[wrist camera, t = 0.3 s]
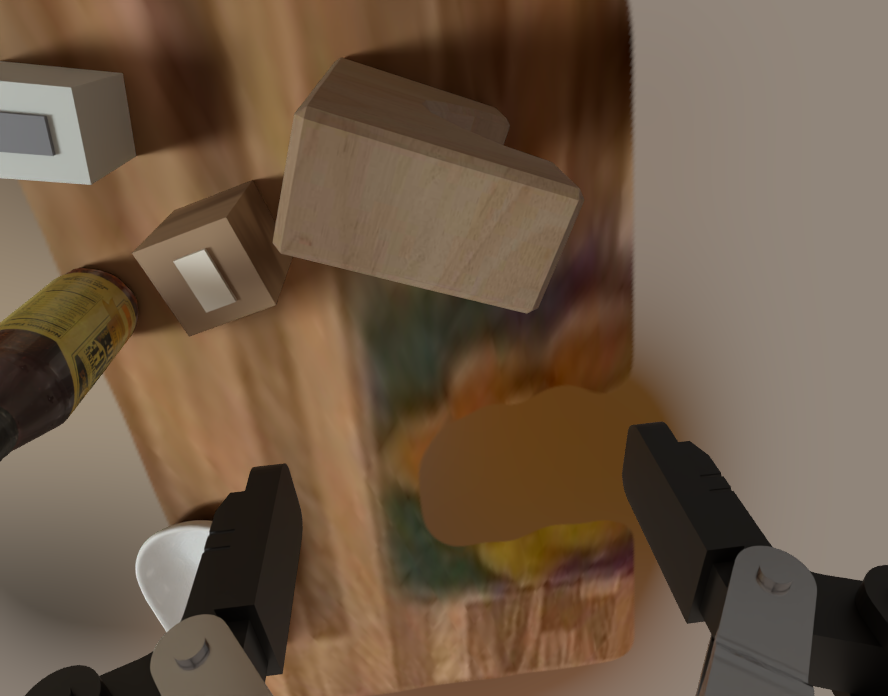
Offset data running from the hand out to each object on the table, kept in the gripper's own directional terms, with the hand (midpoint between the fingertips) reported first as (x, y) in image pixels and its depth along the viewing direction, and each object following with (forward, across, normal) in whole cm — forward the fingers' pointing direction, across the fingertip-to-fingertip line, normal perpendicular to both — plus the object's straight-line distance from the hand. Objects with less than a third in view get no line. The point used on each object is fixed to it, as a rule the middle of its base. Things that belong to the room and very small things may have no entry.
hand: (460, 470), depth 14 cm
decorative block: (+31, 0, -2) cm, 31 cm away
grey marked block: (+31, +21, -4) cm, 38 cm away
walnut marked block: (+31, +13, +5) cm, 34 cm away
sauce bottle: (+31, +24, +9) cm, 40 cm away
